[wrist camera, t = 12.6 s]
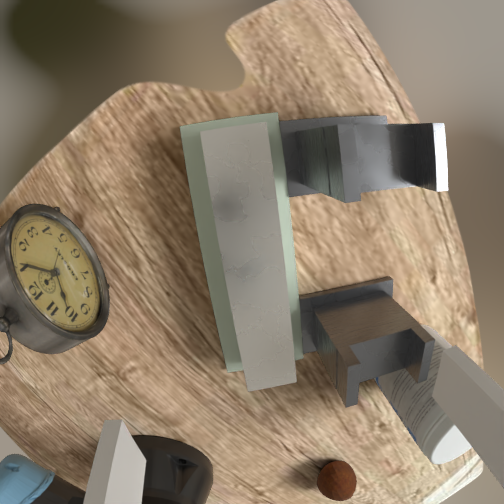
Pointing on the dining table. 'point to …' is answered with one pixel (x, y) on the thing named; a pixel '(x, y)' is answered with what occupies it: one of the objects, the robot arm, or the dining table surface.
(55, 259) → the alarm clock
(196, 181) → the mat
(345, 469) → the potato
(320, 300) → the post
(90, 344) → the dining table surface
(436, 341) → the supplement tub
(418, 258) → the dining table surface
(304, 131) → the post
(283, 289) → the rail
